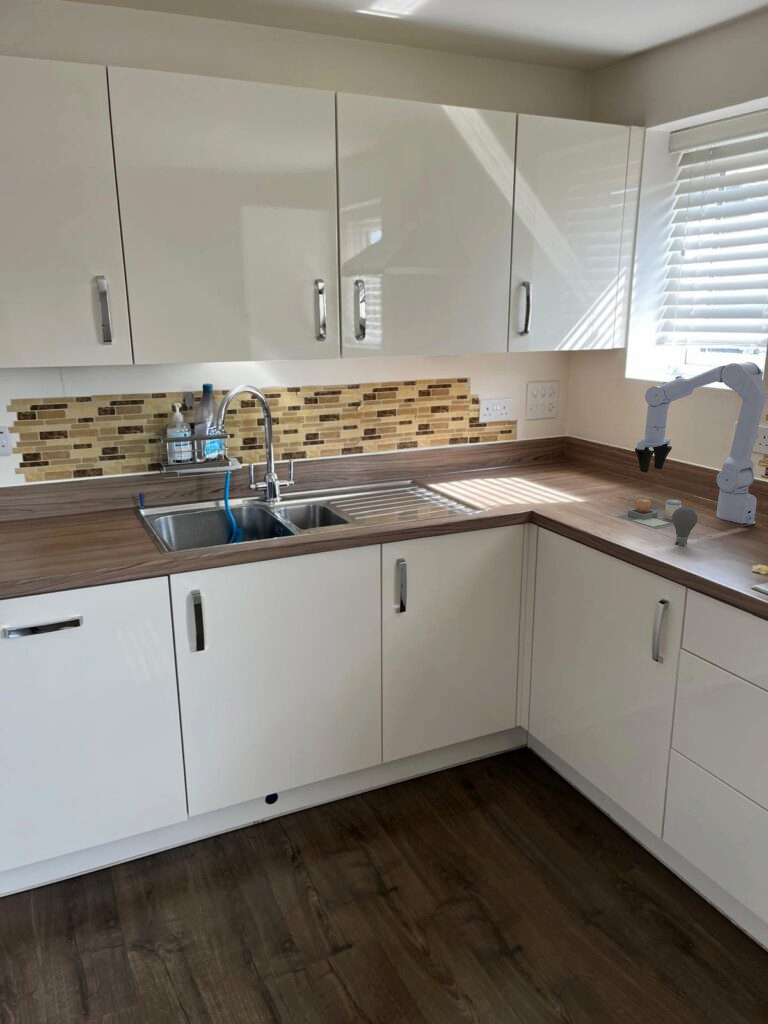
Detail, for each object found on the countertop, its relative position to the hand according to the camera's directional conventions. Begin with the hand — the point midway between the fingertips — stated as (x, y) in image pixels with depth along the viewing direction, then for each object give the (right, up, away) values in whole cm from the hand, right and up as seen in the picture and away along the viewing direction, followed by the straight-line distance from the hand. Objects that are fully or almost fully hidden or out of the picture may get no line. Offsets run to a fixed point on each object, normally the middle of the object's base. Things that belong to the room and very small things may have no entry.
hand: (651, 470), depth 232 cm
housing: (-6, -16, -19) cm, 25 cm away
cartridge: (-1, -16, -19) cm, 24 cm away
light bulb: (-6, -21, -39) cm, 45 cm away
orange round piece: (-9, -12, -19) cm, 24 cm away
